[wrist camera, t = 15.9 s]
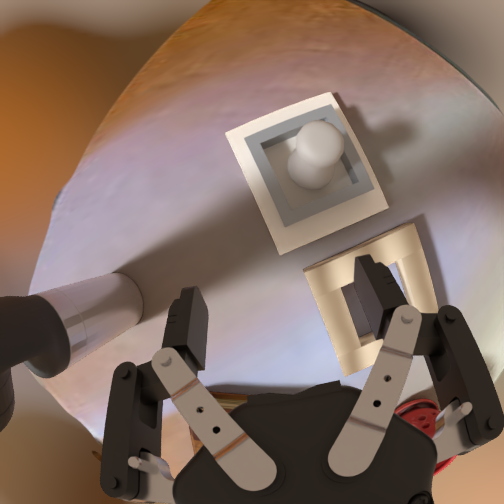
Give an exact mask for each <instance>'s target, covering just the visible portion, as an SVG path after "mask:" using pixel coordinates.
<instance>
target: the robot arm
mask: <svg viewBox="0 0 504 504" xmlns="http://www.w3.org/2000/svg"><path fill="white" fill-rule="evenodd" d="M354 286H355V290H356V292H357V295H358V297H359V299H360V302H361V304H362V307H363V309H364V312H365V314H366V316H367V319H368V321H369V324H370V327H371V329H372V332H373V334H374V337H375V339H376V340H380V339H383V341H384V342H383V344H382V347H381V348H380V351H379V353H378V356H377V358H376V361H375V363H374V365H373V368H372V370H371V372H370V375H369V377H368V379H367V382H366V384H365V386H364V388H363V390H360V389H358V388H355V387H351V386H341V384H340V380H338V381H333V382H329V383H324V384H320V385H316V386H314V387H311V388H309V389H307V390H305V391H302V392H300V393H298V394H295V395H287V394H275V393H266V394H258V395H250V396H247V402H245V403H242V404H240V405H238V406H237V407H235V408H234V409H232V410H231V411H230V412H229V413H227V412H226V411H225V410H224V409H223V408H222V407H221V405H220V404H219V403H218V402H217V401H216V400H215V399H214V397H213V396H212V395H211V394H210V393H209V392H208V390H207V389H206V388H205V387H204V386H203V384H202V383H201V382H200V381H199V379H198V378H197V373H198V371H201V370H205V358H206V343H207V330H208V309H207V306H206V303H205V301H204V299H203V297H202V295H201V293H200V291H199V288H198V287H197V286H193V287H187V288H183V289H182V291H181V296H180V299H176V300H174V302H173V303H172V305H171V306H170V308H169V313H168V318H167V322H166V323H167V324H166V327H165V333H164V338H163V343H162V348H161V349H160V350H159V351H157V352H156V353H155V355H154V356H153V358H152V360H151V361H149V362H147V363H144V364H141V365H139V366H136V365H135V364H133V363H132V362H124V363H121V364H120V365H119V366H118V367H117V368H116V369H115V371H114V374H113V379H112V384H111V390H110V396H109V402H108V408H107V415H106V422H105V430H104V438H103V448H102V459H101V474H100V475H101V476H100V484H101V487H102V489H103V491H104V492H105V493H106V494H107V495H108V496H110V497H114V498H119V499H122V500H126V501H131V502H137V503H155V502H160V503H170V504H434V501H433V498H432V492H431V488H432V479H433V475H434V471H435V468H436V464H437V463H439V462H442V461H444V460H446V459H448V458H451V457H453V456H455V455H464V454H466V453H468V452H470V451H472V450H474V449H476V448H478V447H480V446H482V445H484V444H486V443H488V442H489V441H491V440H493V439H495V438H496V437H498V436H499V435H500V434H501V432H502V430H503V427H504V414H503V411H502V408H501V404H500V401H499V398H498V395H497V393H496V390H495V387H494V384H493V381H492V379H491V376H490V374H489V371H488V369H487V366H486V364H485V361H484V359H483V357H482V354H481V352H480V350H479V348H478V345H477V343H476V341H475V339H474V337H473V335H472V333H471V331H470V329H469V327H468V325H467V323H466V321H465V319H464V317H463V315H462V313H461V312H460V310H459V309H458V308H456V307H454V306H451V305H446V306H443V307H441V308H440V309H439V311H438V313H421V312H420V311H419V310H418V309H417V308H415V307H414V306H411V305H409V303H408V302H407V300H406V298H405V296H404V294H403V292H402V291H401V289H400V287H399V285H398V284H397V283H396V280H395V278H394V277H393V275H392V273H391V271H390V270H389V268H388V267H387V266H385V265H384V264H383V263H382V262H378V263H375V262H374V260H373V258H372V256H371V255H370V254H366V255H361V256H357V257H355V263H354ZM142 313H143V300H142V296H141V293H140V291H139V289H138V287H137V285H136V284H135V283H134V282H133V281H132V280H131V279H130V278H129V277H127V276H126V275H124V274H121V273H111V274H107V275H103V276H99V277H95V278H92V279H88V280H84V281H80V282H77V283H73V284H69V285H66V286H62V287H58V288H55V289H51V290H48V291H44V292H41V293H37V294H34V295H30V296H26V297H19V296H5V297H0V432H1V431H2V430H3V429H4V428H5V427H6V426H7V424H8V422H9V421H10V419H11V417H12V415H13V411H14V404H15V401H14V389H13V383H12V377H11V367H13V366H15V365H17V364H19V363H22V362H23V363H24V364H25V365H26V366H27V368H28V369H30V370H31V371H32V372H33V373H34V374H35V375H37V376H39V377H42V378H52V377H54V376H56V375H58V374H59V373H61V372H62V371H64V370H65V369H67V368H69V367H70V366H72V365H73V364H75V363H77V362H78V361H80V360H81V359H83V358H84V357H86V356H87V355H89V354H90V353H92V352H94V351H95V350H97V349H98V348H100V347H101V346H103V345H105V344H106V343H108V342H109V341H111V340H112V339H114V338H116V337H117V336H119V335H120V334H122V333H124V332H125V331H127V330H128V329H130V328H132V327H133V326H134V325H136V324H137V323H138V322H139V320H140V319H141V316H142ZM412 355H424V358H425V361H426V363H427V366H428V369H429V372H430V375H431V378H432V381H433V384H434V387H435V391H436V394H437V397H438V401H439V404H440V408H441V412H440V413H439V415H438V416H437V418H436V421H435V435H434V437H433V439H431V437H430V436H428V435H427V434H426V433H424V432H423V431H421V430H420V429H418V428H417V427H415V426H414V425H412V424H411V423H409V422H408V421H406V420H405V419H403V418H402V417H400V416H399V415H397V414H396V413H394V410H395V408H396V405H397V403H398V400H399V398H400V395H401V392H402V390H403V387H404V384H405V381H406V378H407V375H408V372H409V369H410V366H411V363H412V359H413V356H412ZM170 397H171V400H172V402H173V403H174V405H175V406H176V408H177V409H178V411H179V412H180V413H181V415H182V416H183V418H184V419H185V420H186V422H187V423H188V425H189V426H190V427H191V429H192V430H193V431H194V433H195V434H196V435H197V436H198V438H199V439H200V440H201V442H202V443H203V445H202V447H201V448H200V449H199V450H198V451H197V453H196V454H195V455H194V456H193V457H192V459H191V460H190V461H189V462H188V463H187V465H186V466H185V467H184V468H183V469H182V470H181V472H180V473H179V474H178V475H177V476H176V478H175V479H174V478H173V477H172V475H171V473H170V468H169V465H168V463H167V462H166V461H165V460H164V459H162V458H161V430H162V408H163V400H165V399H168V398H170Z"/></svg>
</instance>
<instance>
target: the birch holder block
mask: <svg viewBox="0 0 504 504" xmlns="http://www.w3.org/2000/svg"><path fill="white" fill-rule="evenodd" d="M366 254H370V255H371V256H372V258H373V260H374V262H375V263H378V262H382V263H383V264H384V265H385V266H388V265H390V264H392V263H394V262H395V263H396V266H397V269H398V272H399V276H400V279H401V282H402V285H403V289H404V292H405V296H406V299H407V302H408V303H409V305H411V306H414V307H415V308H417V309H418V310H419V311H420V312H421V313H438V311H439V310H438V305H437V301H436V296H435V292H434V288H433V284H432V280H431V276H430V272H429V269H428V265H427V262H426V258H425V255H424V252H423V248H422V245H421V242H420V239H419V236H418V233H417V230H416V227H415V224H414V223H405V224H403V225H401V226H399V227H396V228H394V229H392V230H390V231H388V232H386V233H384V234H382V235H379V236H377V237H375V238H373V239H371V240H368V241H366V242H364V243H362V244H360V245H358V246H355V247H353V248H351V249H349V250H346V251H344V252H342V253H340V254H337V255H335V256H333V257H331V258H328V259H326V260H324V261H321V262H319V263H317V264H315V265H312V266H310V267H308V268H305V269H303V271H304V274H305V276H306V278H307V281H308V283H309V286H310V288H311V291H312V293H313V296H314V298H315V301H316V303H317V306H318V308H319V311H320V313H321V316H322V318H323V321H324V323H325V326H326V329H327V331H328V334H329V336H330V339H331V342H332V344H333V347H334V350H335V352H336V355H337V358H338V360H339V363H340V366H341V369H342V371H343V374H344V377H346V376H348V375H351V374H353V373H355V372H358V371H360V370H362V369H365V368H367V367H369V366H371V365H373V364H374V363H375V361H376V358H377V356H378V353H379V351H380V348H381V347H382V344H383V342H384V341H383V339H380V340H376V339H375V337H374V334H373V332H370V333H368V334H366V335H364V336H362V337H360V338H358V335H357V332H356V330H355V327H354V324H353V321H352V318H351V315H350V312H349V310H348V307H347V304H346V301H345V298H344V296H343V293H342V290H341V288H340V287H343V286H345V285H347V284H349V283H352V282H354V263H355V257H357V256H361V255H366Z"/></svg>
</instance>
